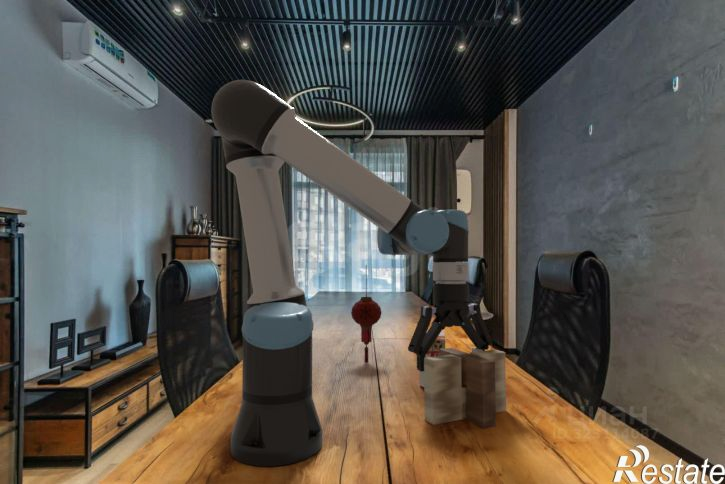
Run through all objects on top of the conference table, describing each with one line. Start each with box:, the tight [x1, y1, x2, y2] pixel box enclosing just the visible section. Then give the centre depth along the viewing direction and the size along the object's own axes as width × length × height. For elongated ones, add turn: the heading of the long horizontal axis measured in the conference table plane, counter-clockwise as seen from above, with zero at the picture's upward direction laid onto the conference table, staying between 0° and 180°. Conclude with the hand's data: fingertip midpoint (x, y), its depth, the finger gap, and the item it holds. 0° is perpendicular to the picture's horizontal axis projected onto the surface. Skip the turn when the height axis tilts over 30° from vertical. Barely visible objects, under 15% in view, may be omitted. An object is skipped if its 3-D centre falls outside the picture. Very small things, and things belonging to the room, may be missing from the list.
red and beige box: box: [419, 329, 446, 389], centre depth 115 cm, size 21×6×12 cm, turn 169°
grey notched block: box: [423, 349, 507, 426], centre depth 86 cm, size 18×3×12 cm, turn 115°
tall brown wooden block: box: [439, 347, 497, 429], centre depth 86 cm, size 3×14×12 cm, turn 24°
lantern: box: [350, 264, 382, 363], centre depth 132 cm, size 10×10×30 cm
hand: (452, 382), depth 90 cm, fingers open, 13 cm apart
